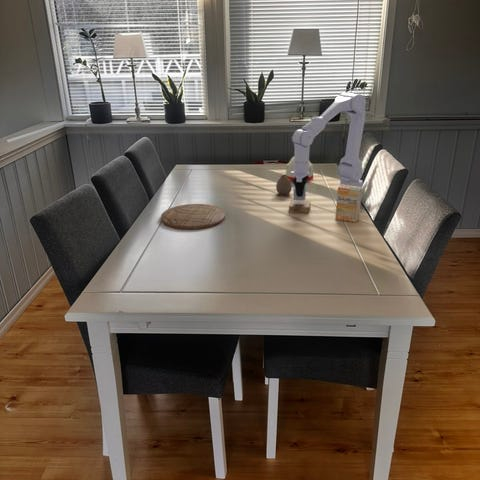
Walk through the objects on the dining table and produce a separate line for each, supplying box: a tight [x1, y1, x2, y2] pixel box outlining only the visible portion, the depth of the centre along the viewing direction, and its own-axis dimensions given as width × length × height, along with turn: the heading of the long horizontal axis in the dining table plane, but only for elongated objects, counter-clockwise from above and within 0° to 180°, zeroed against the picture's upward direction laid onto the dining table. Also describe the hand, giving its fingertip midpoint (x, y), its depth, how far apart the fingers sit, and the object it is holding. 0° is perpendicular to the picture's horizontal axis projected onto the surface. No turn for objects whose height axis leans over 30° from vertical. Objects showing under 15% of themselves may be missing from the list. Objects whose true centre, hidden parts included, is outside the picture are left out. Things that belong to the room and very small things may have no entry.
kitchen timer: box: [285, 156, 314, 181], centre depth 224 cm, size 14×14×15 cm
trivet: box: [160, 203, 226, 231], centre depth 176 cm, size 25×25×2 cm
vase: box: [275, 174, 293, 196], centre depth 201 cm, size 7×7×9 cm
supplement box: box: [334, 184, 363, 223], centre depth 170 cm, size 8×5×13 cm, turn 62°
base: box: [288, 199, 311, 214], centre depth 183 cm, size 8×8×3 cm
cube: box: [292, 185, 307, 201], centre depth 181 cm, size 4×4×4 cm
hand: (300, 194), depth 181 cm, fingers closed on cube, 4 cm apart
